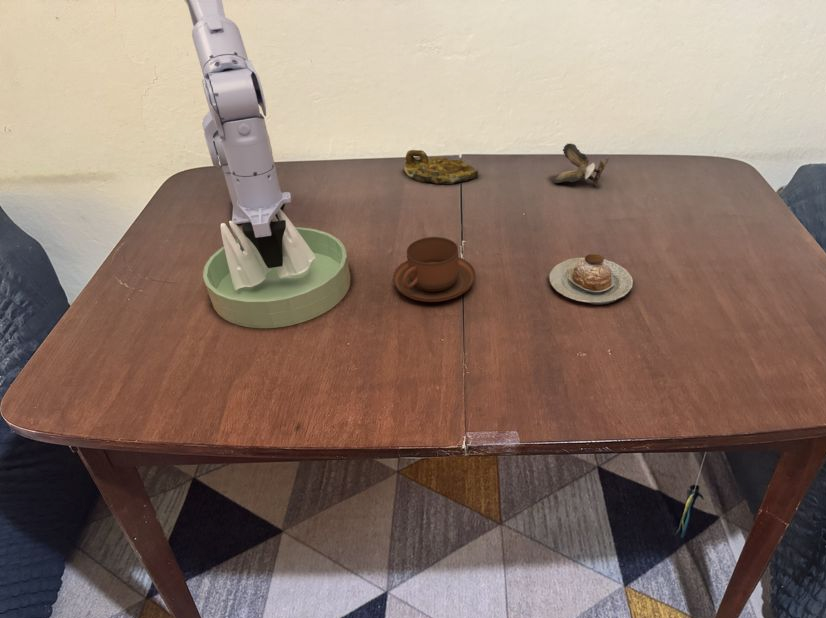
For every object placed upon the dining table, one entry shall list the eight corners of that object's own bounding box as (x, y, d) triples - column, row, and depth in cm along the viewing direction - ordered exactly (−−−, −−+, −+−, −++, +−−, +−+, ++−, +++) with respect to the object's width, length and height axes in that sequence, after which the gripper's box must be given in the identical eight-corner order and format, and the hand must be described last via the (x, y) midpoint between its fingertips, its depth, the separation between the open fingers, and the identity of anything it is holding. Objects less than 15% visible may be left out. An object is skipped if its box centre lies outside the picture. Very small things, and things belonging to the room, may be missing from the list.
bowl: (216, 262, 101) (208, 237, 98) (343, 244, 105) (339, 219, 102) (207, 339, 86) (197, 312, 83) (357, 315, 89) (353, 288, 87)
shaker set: (318, 266, 96) (303, 198, 89) (317, 281, 93) (302, 212, 86) (237, 275, 95) (215, 207, 88) (233, 291, 92) (211, 221, 85)
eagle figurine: (607, 169, 122) (563, 154, 124) (611, 147, 115) (564, 131, 117) (591, 202, 120) (547, 186, 122) (594, 182, 113) (547, 166, 115)
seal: (482, 172, 127) (410, 166, 130) (483, 148, 125) (409, 142, 127) (473, 187, 120) (396, 181, 122) (473, 162, 117) (395, 156, 120)
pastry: (585, 318, 87) (588, 290, 84) (532, 278, 95) (533, 252, 92) (649, 291, 92) (654, 263, 89) (594, 255, 100) (597, 229, 97)
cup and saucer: (458, 316, 89) (456, 279, 85) (380, 300, 92) (375, 264, 88) (486, 271, 97) (486, 236, 93) (414, 259, 101) (411, 223, 97)
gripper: (285, 186, 79) (305, 279, 87) (282, 143, 90) (300, 229, 98) (225, 194, 77) (252, 287, 86) (230, 149, 88) (253, 236, 97)
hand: (274, 257), depth 92 cm, fingers closed on shaker set, 4 cm apart
